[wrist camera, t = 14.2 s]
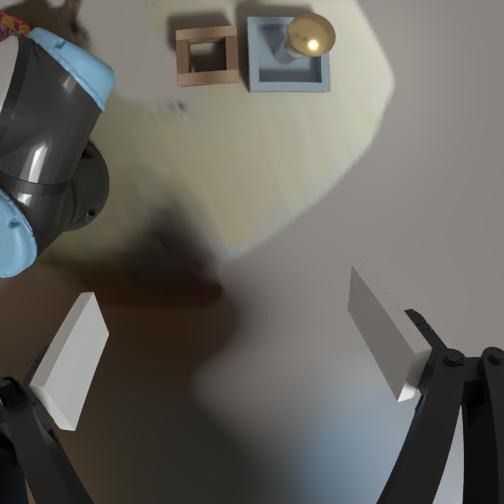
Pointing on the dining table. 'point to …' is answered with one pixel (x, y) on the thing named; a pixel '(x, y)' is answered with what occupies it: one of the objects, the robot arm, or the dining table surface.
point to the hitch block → (199, 37)
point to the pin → (305, 38)
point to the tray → (277, 75)
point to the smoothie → (12, 26)
